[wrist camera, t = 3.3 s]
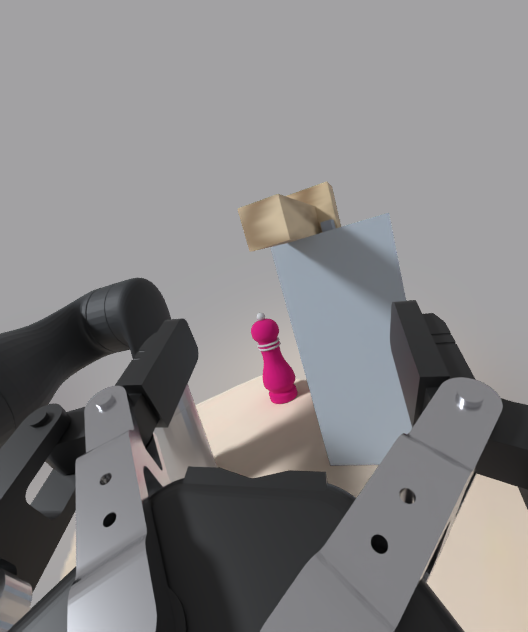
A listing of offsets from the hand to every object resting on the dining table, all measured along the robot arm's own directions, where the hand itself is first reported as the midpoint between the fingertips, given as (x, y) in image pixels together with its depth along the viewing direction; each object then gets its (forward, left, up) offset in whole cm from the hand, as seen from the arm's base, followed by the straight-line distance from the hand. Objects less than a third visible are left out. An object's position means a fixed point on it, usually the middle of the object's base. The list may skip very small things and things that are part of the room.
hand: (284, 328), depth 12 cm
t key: (-4, +26, +3) cm, 26 cm away
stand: (-1, +32, -29) cm, 43 cm away
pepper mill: (-21, +49, -29) cm, 60 cm away
